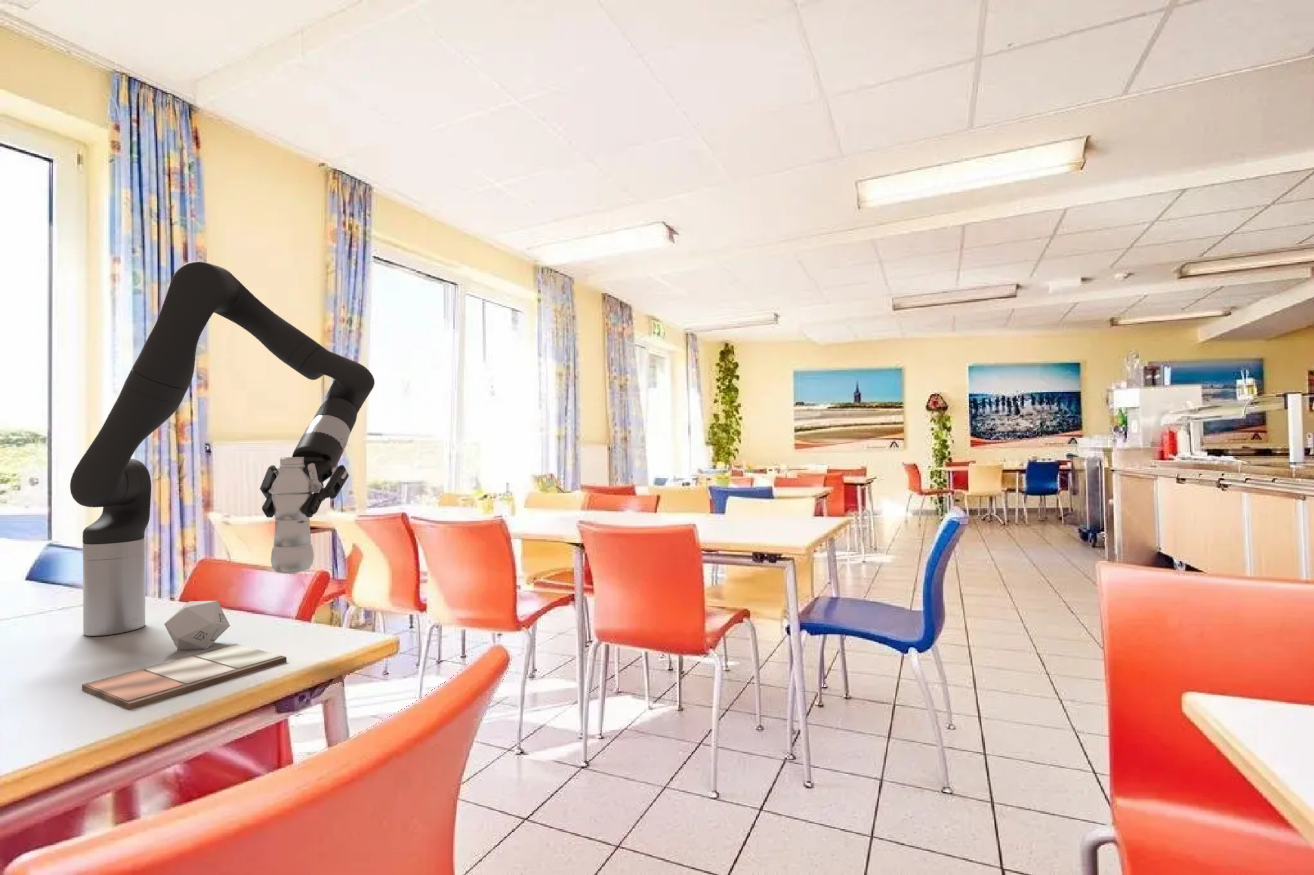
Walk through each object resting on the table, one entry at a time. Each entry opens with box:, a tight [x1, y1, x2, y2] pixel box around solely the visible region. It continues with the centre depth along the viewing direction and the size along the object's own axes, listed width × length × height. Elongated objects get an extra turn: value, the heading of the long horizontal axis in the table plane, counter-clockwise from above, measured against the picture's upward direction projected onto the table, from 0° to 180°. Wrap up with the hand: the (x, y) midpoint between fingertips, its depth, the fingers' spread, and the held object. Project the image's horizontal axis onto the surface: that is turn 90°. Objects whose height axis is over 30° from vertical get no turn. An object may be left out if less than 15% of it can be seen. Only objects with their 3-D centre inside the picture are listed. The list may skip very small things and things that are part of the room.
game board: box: [81, 643, 287, 710], centre depth 98 cm, size 15×21×1 cm
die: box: [163, 600, 231, 651], centre depth 113 cm, size 8×9×10 cm
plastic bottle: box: [270, 456, 315, 575], centre depth 111 cm, size 6×7×20 cm
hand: (287, 514), depth 109 cm, fingers closed on plastic bottle, 6 cm apart
